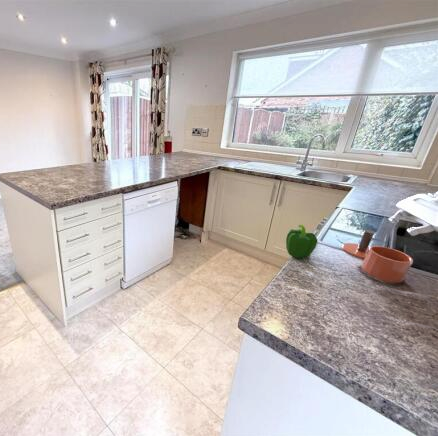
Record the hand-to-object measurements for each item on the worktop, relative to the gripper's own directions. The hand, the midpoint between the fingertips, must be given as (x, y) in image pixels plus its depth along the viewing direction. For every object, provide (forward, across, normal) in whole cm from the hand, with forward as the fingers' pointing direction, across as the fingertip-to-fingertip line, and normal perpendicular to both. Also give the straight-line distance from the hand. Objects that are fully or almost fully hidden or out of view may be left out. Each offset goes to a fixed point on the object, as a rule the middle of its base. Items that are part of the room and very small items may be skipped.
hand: (399, 227), depth 78 cm
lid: (+12, 0, +2) cm, 13 cm away
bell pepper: (+28, +9, -12) cm, 32 cm away
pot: (+13, +13, +3) cm, 18 cm away
